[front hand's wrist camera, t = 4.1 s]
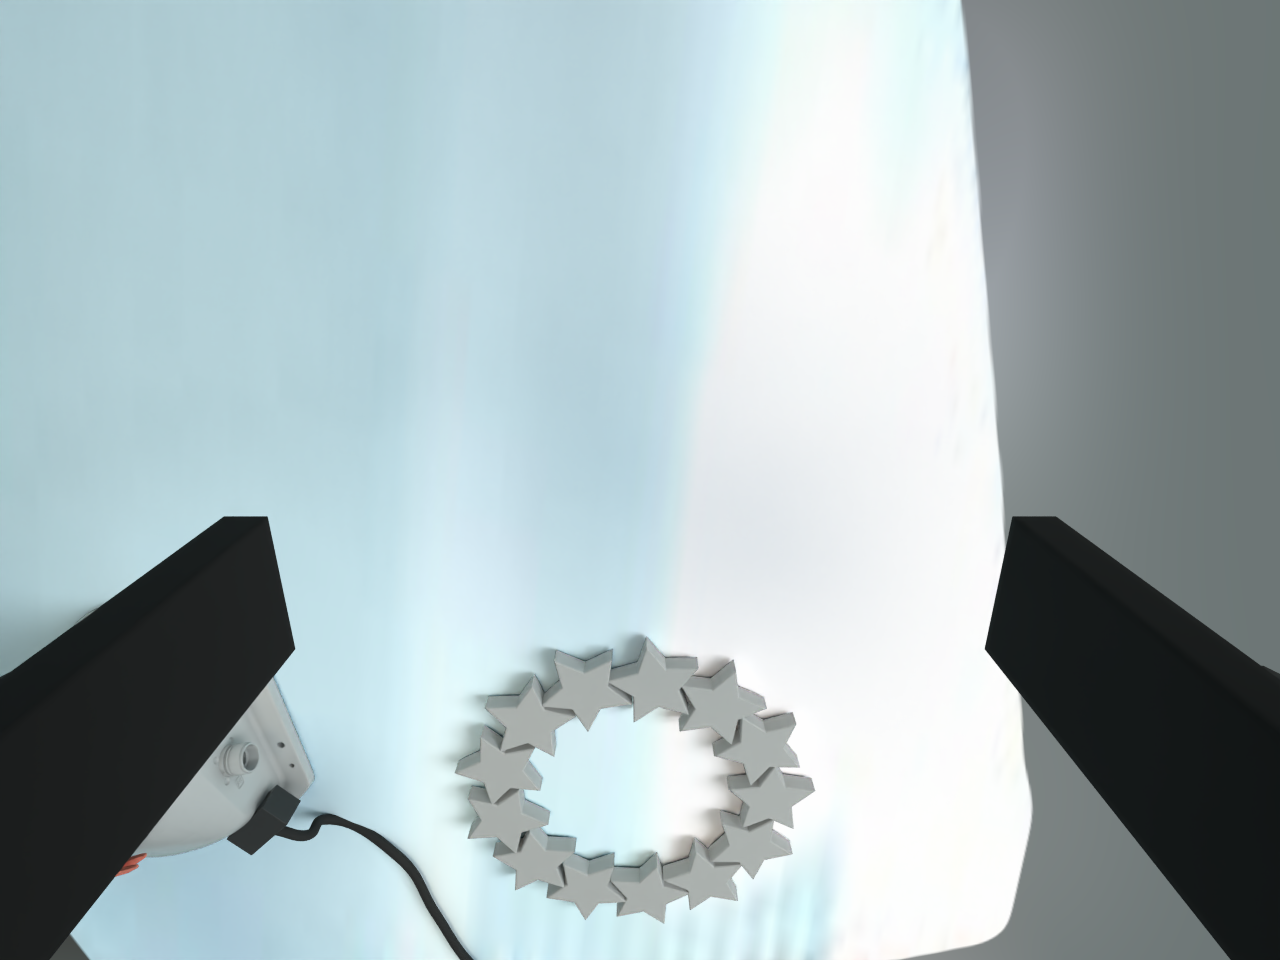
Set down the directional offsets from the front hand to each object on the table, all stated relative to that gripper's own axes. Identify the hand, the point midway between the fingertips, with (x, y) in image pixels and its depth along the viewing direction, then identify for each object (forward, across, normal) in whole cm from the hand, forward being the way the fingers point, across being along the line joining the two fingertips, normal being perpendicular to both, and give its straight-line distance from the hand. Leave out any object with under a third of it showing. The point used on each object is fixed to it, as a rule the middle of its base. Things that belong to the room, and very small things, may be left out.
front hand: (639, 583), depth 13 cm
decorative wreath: (+36, 0, -40) cm, 53 cm away
